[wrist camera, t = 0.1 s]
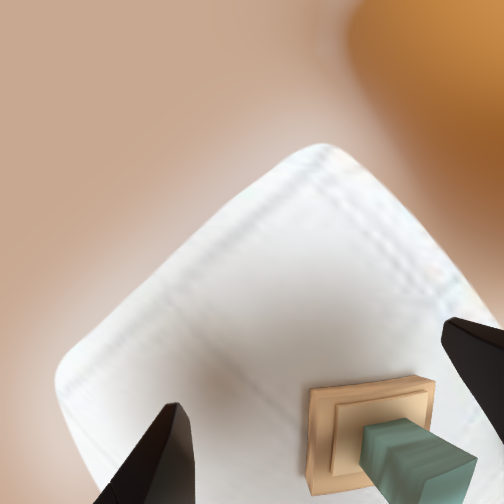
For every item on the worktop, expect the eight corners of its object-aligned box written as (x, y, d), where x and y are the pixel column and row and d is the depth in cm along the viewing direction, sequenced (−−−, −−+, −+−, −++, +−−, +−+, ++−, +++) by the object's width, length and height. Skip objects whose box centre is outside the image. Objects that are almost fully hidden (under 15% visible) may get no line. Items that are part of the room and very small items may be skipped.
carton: (404, 458, 19) (420, 472, 16) (305, 476, 19) (311, 495, 16) (415, 374, 21) (435, 381, 18) (310, 388, 21) (319, 399, 18)
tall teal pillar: (414, 453, 16) (481, 501, 7) (330, 472, 16) (371, 547, 7) (424, 390, 18) (507, 417, 8) (336, 405, 18) (394, 462, 8)
